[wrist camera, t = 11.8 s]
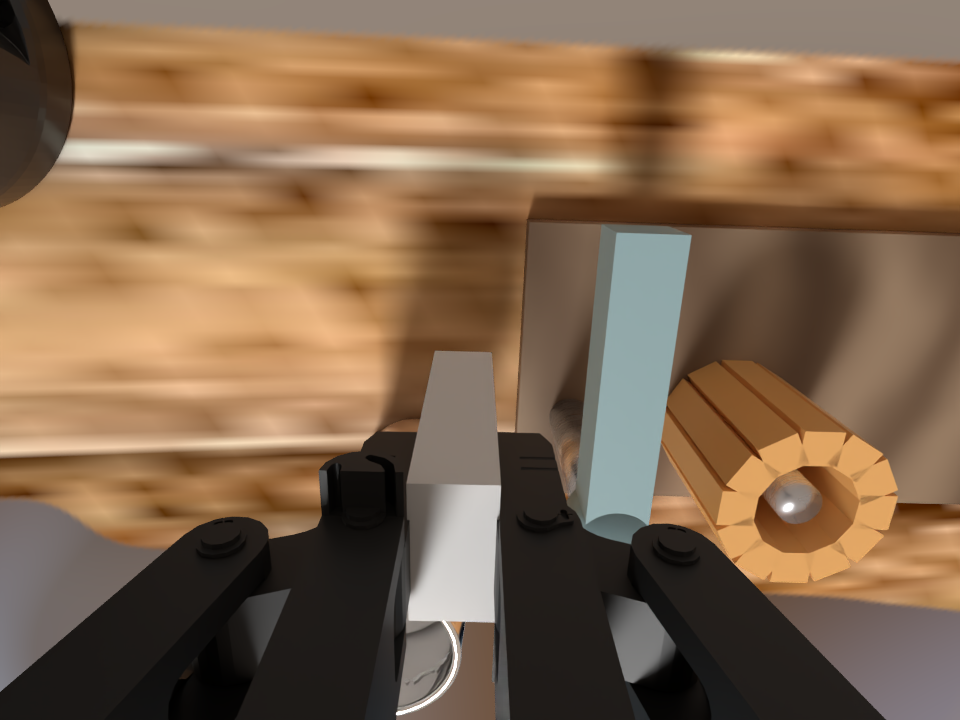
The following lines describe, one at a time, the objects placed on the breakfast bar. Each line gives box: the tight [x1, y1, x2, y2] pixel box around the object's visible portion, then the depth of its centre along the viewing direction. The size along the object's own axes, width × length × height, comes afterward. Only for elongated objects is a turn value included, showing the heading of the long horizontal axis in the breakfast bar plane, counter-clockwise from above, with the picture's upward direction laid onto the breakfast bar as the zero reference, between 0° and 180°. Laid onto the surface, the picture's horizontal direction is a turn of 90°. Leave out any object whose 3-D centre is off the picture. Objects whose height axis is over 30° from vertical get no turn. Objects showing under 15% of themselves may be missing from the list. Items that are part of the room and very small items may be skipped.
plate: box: [515, 219, 960, 504], centre depth 34 cm, size 30×16×2 cm, turn 88°
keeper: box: [567, 224, 692, 544], centre depth 22 cm, size 14×3×2 cm, turn 178°
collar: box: [661, 360, 898, 583], centre depth 30 cm, size 8×8×9 cm
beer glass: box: [382, 419, 465, 715], centre depth 30 cm, size 7×7×15 cm
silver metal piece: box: [549, 399, 822, 524], centre depth 30 cm, size 11×2×9 cm, turn 88°
